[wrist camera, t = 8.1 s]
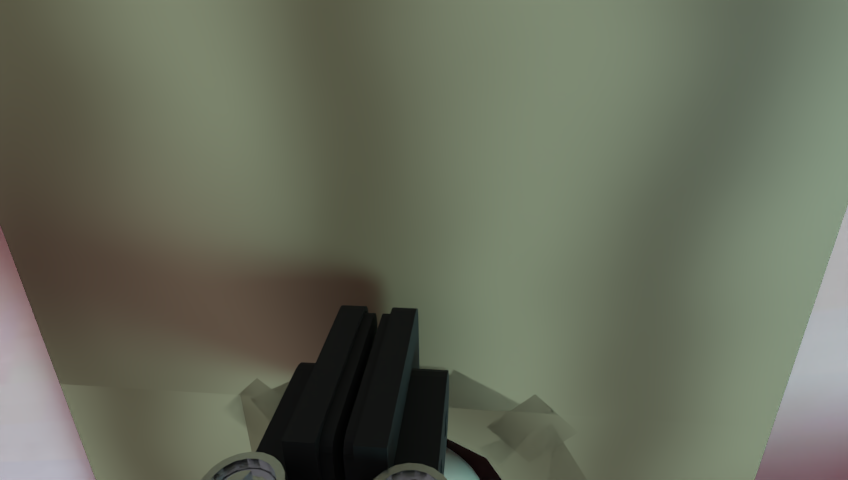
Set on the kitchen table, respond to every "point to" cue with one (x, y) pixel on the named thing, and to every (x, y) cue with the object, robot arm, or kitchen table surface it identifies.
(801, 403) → the kitchen table surface
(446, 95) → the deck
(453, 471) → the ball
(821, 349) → the kitchen table surface
